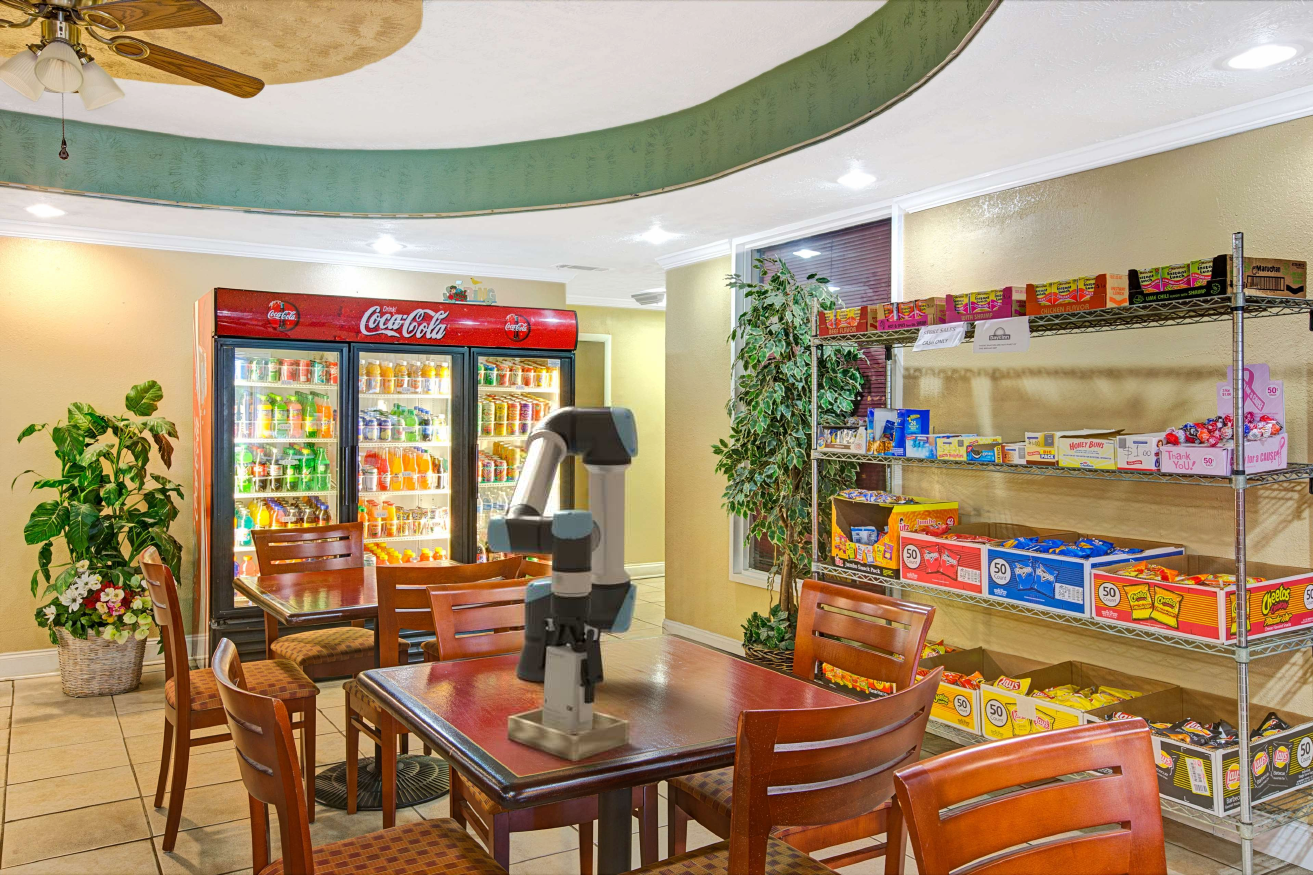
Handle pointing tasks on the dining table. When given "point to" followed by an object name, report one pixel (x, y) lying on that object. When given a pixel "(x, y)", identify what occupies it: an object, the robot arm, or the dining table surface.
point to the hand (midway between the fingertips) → (568, 714)
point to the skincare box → (563, 690)
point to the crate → (571, 747)
